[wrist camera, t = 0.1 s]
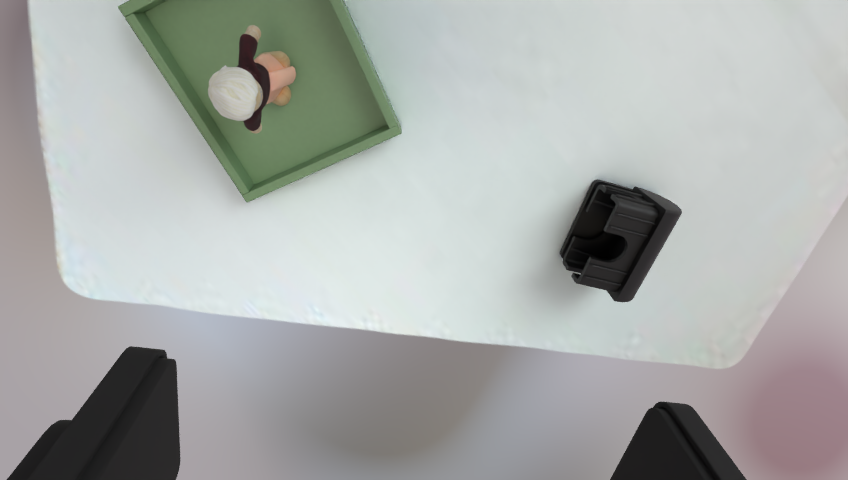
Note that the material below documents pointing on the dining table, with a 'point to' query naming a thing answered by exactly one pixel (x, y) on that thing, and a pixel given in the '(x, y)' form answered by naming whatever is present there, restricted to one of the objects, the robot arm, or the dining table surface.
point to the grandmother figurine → (251, 82)
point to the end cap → (617, 237)
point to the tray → (310, 92)
